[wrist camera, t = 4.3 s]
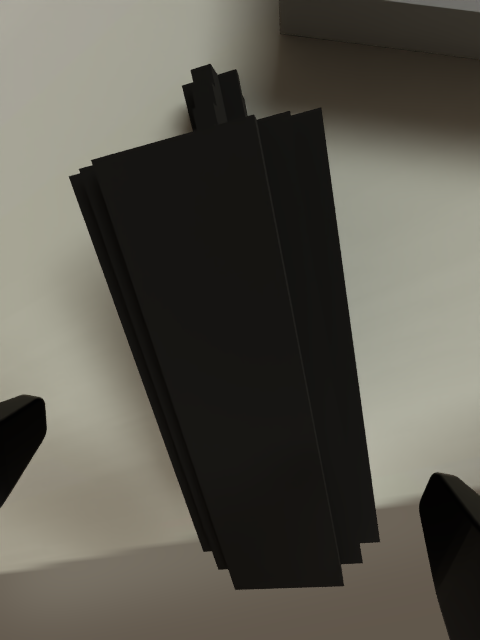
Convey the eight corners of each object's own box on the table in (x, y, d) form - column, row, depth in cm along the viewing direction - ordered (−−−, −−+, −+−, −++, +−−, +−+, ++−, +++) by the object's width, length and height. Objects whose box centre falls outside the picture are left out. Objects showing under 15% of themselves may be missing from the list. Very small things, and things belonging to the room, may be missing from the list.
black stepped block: (292, 63, 16) (303, -103, 6) (346, 420, 22) (392, 600, 12) (143, 107, 17) (-27, 22, 8) (234, 433, 23) (200, 604, 14)
